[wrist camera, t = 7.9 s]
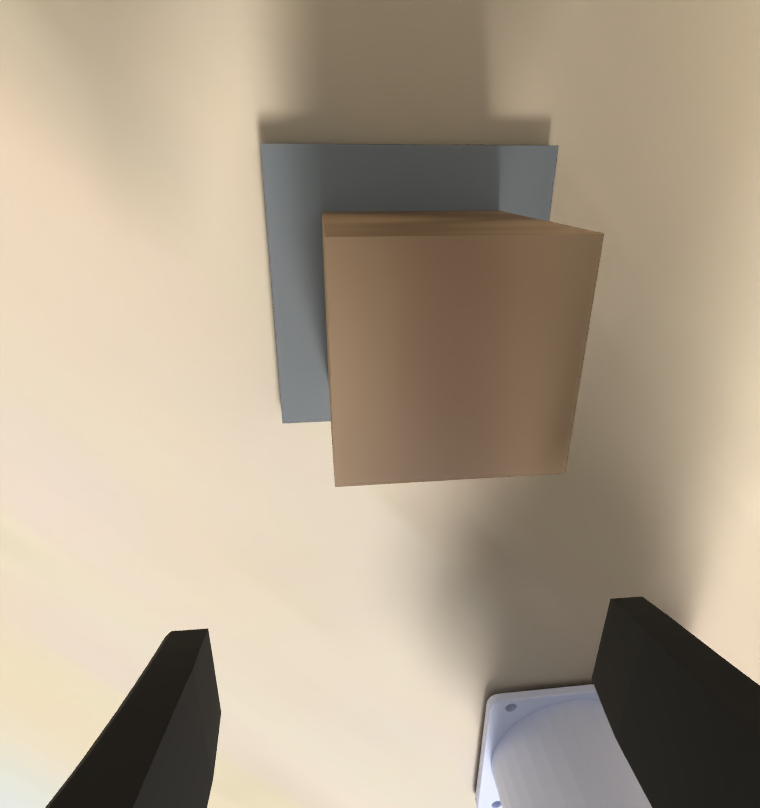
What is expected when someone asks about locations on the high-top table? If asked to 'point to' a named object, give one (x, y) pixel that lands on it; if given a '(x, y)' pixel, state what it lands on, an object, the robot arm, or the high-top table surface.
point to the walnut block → (454, 342)
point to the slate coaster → (370, 191)
